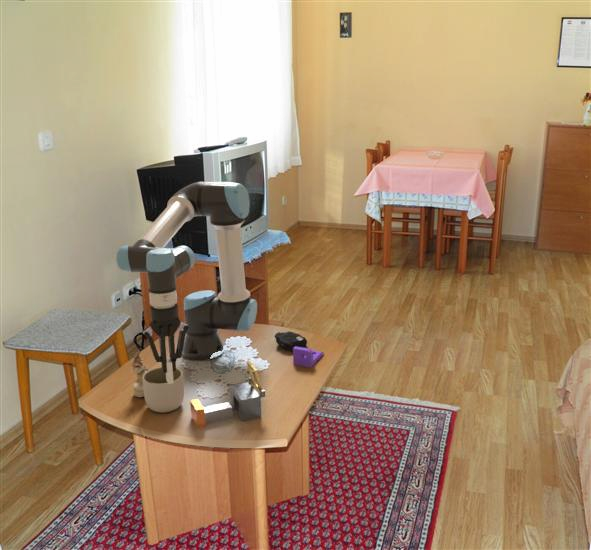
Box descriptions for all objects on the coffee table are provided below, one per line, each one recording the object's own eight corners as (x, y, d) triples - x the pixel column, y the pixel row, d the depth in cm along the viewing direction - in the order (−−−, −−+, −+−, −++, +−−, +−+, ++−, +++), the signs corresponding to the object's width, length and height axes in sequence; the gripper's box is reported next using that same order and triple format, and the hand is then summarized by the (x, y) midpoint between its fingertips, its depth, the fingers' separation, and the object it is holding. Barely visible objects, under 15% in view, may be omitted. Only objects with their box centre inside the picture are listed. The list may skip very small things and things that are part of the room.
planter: (149, 419, 199) (146, 387, 196) (141, 402, 210) (138, 371, 207) (189, 411, 203) (187, 379, 200) (180, 394, 214) (177, 363, 211)
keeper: (251, 382, 205) (245, 360, 202) (254, 381, 206) (248, 359, 203) (260, 393, 198) (254, 371, 195) (263, 392, 199) (257, 369, 196)
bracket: (311, 369, 231) (310, 351, 229) (293, 366, 234) (292, 348, 232) (323, 356, 242) (323, 338, 240) (306, 353, 244) (306, 336, 242)
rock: (295, 339, 254) (295, 325, 252) (309, 348, 248) (309, 334, 245) (273, 346, 249) (273, 332, 247) (287, 355, 242) (287, 341, 240)
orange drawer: (227, 409, 204) (226, 392, 202) (234, 420, 198) (233, 402, 196) (191, 417, 199) (190, 400, 198) (197, 428, 193) (196, 410, 192)
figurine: (160, 396, 213) (156, 354, 209) (137, 401, 210) (133, 358, 206) (153, 387, 219) (149, 346, 215) (131, 392, 216) (127, 350, 212)
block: (231, 405, 206) (230, 381, 204) (253, 400, 209) (252, 376, 206) (242, 421, 197) (241, 395, 194) (266, 415, 199) (265, 390, 197)
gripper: (142, 312, 177) (150, 391, 184) (190, 305, 182) (195, 382, 189) (137, 304, 184) (144, 380, 190) (183, 297, 188) (188, 372, 195)
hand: (170, 381), depth 189 cm, fingers closed
